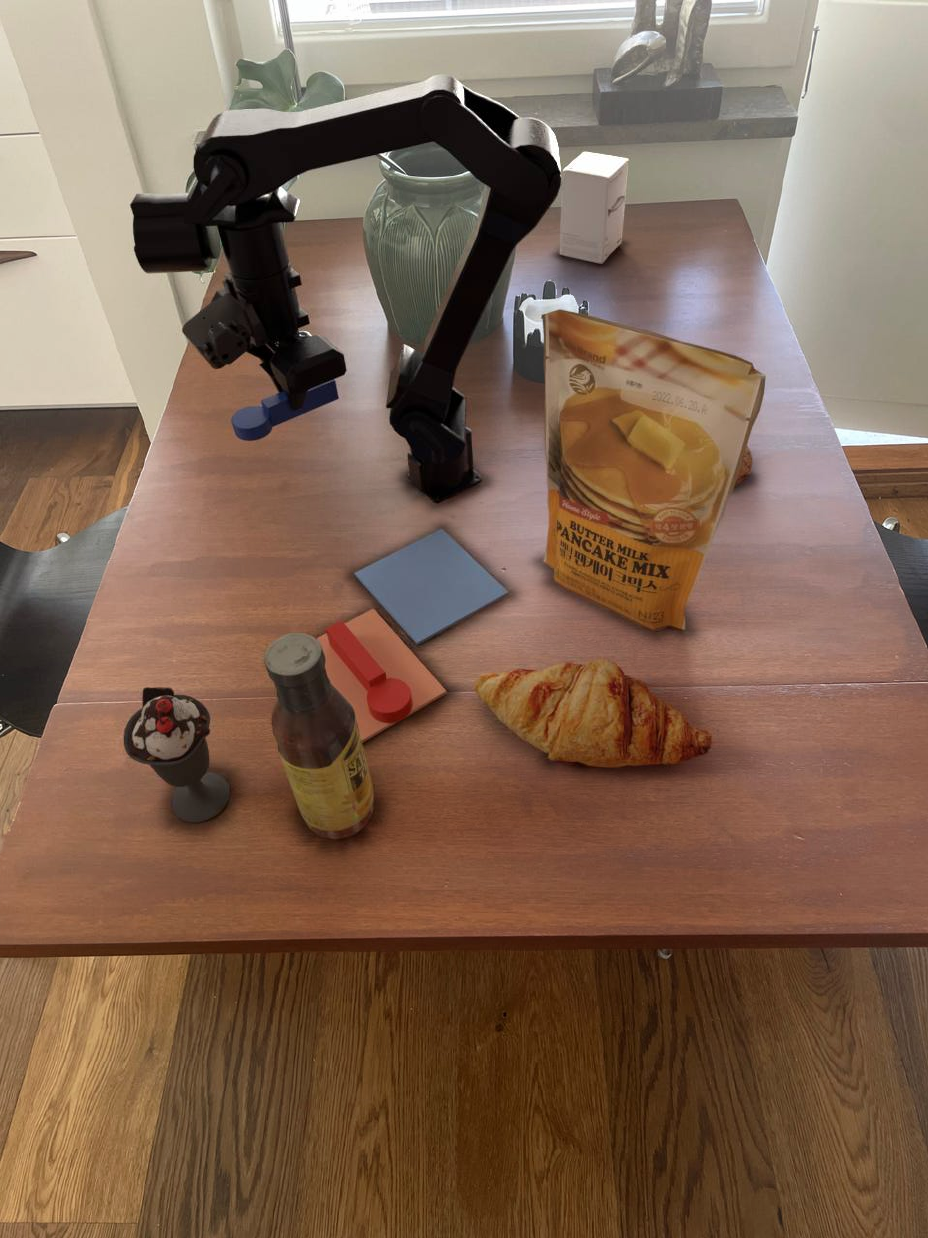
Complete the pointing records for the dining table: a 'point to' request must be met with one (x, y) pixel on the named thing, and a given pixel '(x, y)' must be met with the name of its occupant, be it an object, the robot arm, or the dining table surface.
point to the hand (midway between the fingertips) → (292, 404)
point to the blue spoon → (278, 411)
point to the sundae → (177, 751)
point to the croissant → (591, 715)
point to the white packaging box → (592, 206)
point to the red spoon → (371, 676)
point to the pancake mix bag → (639, 460)
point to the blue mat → (430, 585)
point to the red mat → (392, 661)
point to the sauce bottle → (318, 740)
